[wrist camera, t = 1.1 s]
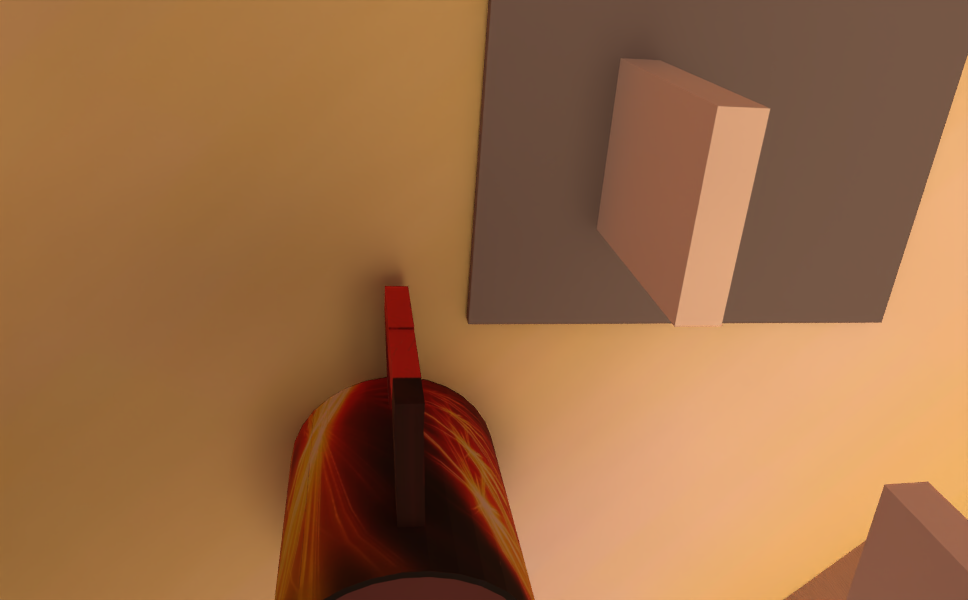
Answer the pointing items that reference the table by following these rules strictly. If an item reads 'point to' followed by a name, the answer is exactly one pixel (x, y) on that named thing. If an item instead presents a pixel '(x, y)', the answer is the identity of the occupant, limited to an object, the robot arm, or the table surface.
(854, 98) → the mat
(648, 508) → the table surface
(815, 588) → the flat printed box
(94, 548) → the table surface
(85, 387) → the table surface
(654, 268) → the tile
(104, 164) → the table surface
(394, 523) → the mug
